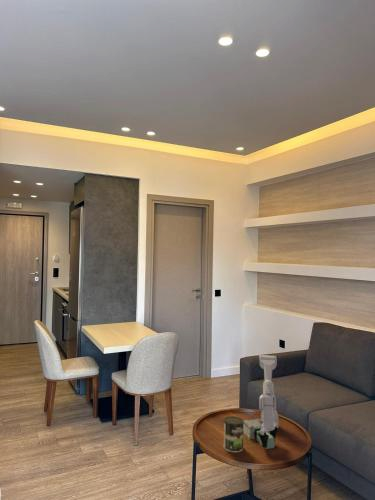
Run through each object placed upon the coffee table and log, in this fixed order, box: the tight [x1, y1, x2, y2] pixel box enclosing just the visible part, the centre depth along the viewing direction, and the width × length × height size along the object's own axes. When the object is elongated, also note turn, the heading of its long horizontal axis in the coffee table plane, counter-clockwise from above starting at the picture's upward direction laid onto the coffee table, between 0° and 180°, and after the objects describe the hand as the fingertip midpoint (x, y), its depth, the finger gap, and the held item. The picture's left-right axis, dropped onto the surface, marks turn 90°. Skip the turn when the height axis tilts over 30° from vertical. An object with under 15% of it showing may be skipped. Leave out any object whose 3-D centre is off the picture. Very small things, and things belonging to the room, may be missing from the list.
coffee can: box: [223, 416, 244, 453], centre depth 192 cm, size 10×10×14 cm
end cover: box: [256, 431, 275, 450], centre depth 196 cm, size 5×10×5 cm, turn 15°
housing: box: [243, 418, 269, 440], centre depth 208 cm, size 11×10×6 cm
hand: (268, 444), depth 192 cm, fingers open, 7 cm apart
